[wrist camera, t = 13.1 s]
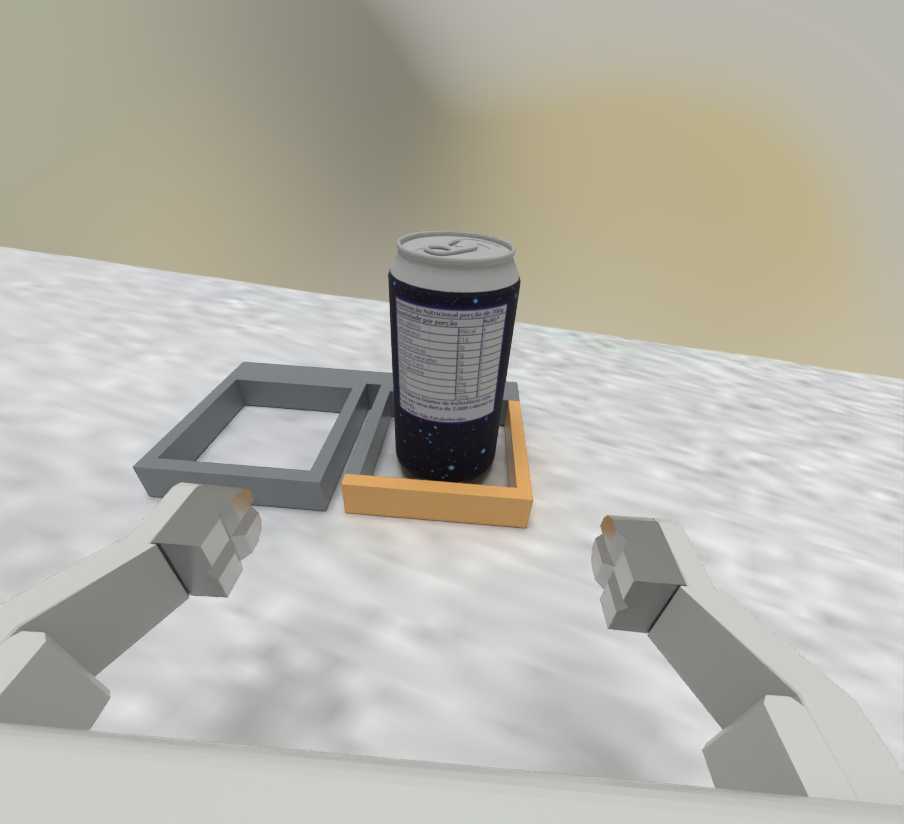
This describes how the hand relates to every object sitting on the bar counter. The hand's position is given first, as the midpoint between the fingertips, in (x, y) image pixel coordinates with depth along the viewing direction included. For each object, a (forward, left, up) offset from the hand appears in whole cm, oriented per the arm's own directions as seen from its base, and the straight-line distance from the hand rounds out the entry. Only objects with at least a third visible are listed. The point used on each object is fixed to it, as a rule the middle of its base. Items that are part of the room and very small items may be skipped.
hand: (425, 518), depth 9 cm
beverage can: (0, +11, -8) cm, 14 cm away
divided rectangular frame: (-5, +11, -8) cm, 15 cm away
